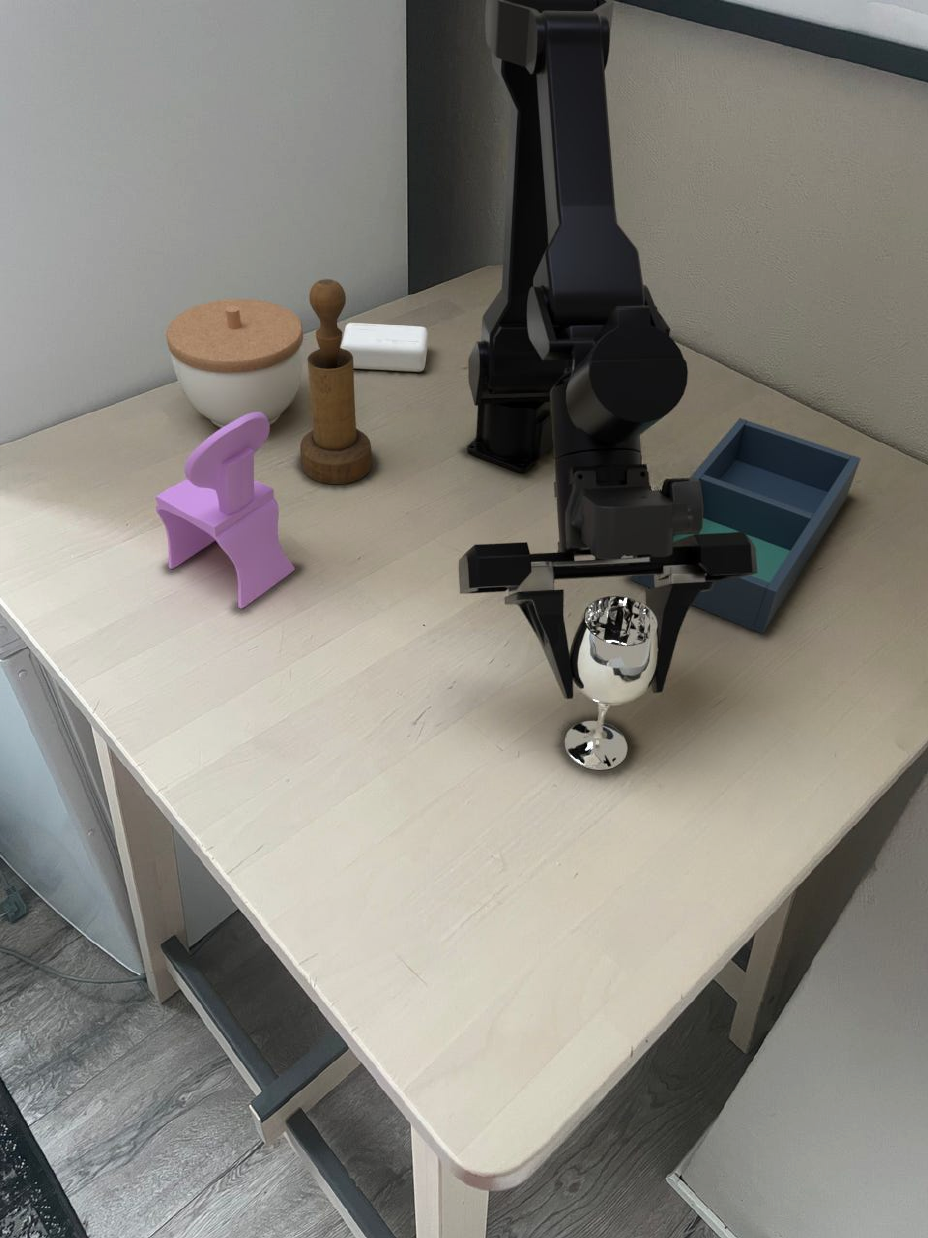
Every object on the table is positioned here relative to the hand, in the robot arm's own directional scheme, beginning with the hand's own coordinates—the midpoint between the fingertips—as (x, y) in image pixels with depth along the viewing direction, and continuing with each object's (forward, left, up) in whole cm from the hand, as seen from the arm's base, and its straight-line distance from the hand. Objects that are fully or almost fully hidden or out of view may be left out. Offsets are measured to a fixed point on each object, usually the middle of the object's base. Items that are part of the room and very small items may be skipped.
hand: (612, 695), depth 67 cm
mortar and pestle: (-37, +18, -7) cm, 42 cm away
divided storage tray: (-1, +30, -7) cm, 31 cm away
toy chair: (-35, +1, -7) cm, 36 cm away
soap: (-45, +37, -7) cm, 59 cm away
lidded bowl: (-50, +20, -7) cm, 54 cm away
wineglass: (-1, +1, -7) cm, 7 cm away
